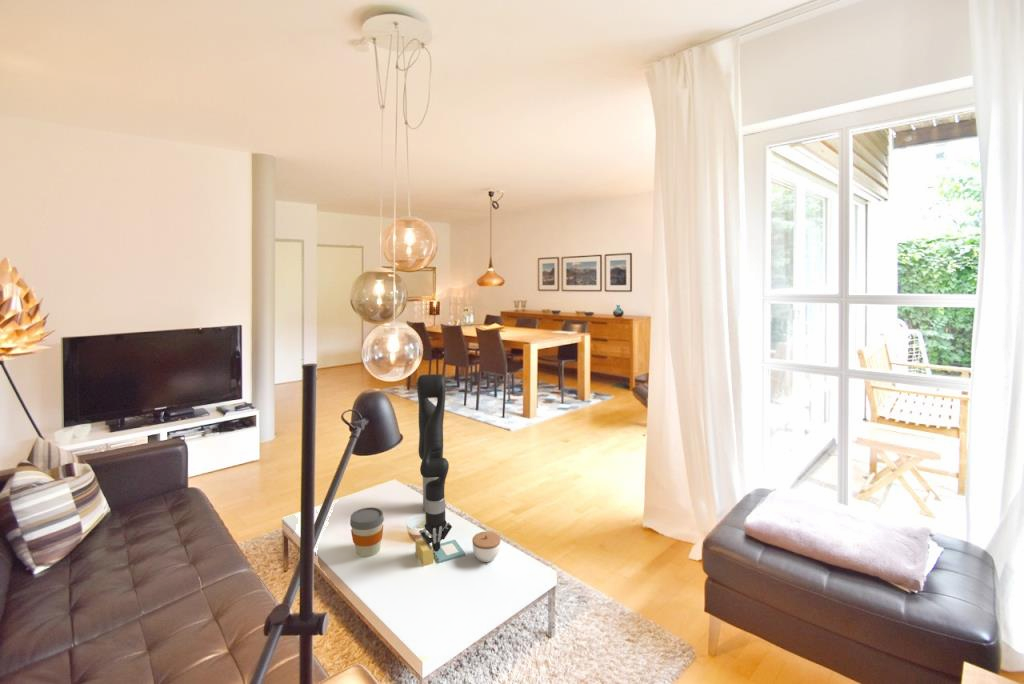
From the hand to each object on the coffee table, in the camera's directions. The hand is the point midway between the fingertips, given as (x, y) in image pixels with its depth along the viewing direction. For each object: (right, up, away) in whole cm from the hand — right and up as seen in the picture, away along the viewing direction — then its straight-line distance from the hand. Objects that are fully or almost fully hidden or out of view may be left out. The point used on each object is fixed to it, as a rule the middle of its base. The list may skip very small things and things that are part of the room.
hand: (436, 550), depth 188 cm
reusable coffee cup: (-27, -2, +3) cm, 27 cm away
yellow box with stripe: (-4, -2, -2) cm, 5 cm away
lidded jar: (+20, -3, -1) cm, 20 cm away
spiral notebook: (+4, -2, +3) cm, 5 cm away
